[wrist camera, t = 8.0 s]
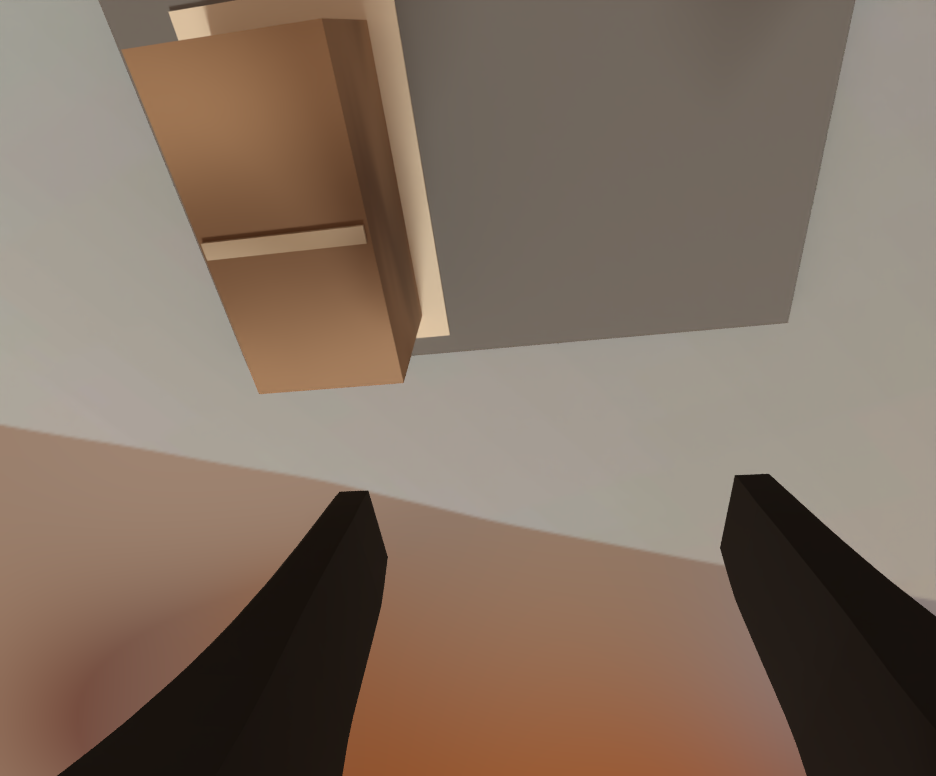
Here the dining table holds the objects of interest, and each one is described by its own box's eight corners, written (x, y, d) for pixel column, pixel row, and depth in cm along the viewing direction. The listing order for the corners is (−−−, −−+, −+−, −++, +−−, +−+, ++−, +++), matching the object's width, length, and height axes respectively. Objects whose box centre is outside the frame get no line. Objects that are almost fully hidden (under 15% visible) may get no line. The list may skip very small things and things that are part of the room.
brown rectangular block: (422, 315, 18) (402, 384, 14) (303, 326, 18) (257, 396, 15) (366, 19, 13) (320, 18, 10) (213, 43, 14) (118, 49, 10)
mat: (870, -146, 12) (890, -155, 11) (779, 314, 18) (789, 324, 17) (108, -11, 14) (91, -12, 13) (255, 361, 20) (248, 371, 19)
